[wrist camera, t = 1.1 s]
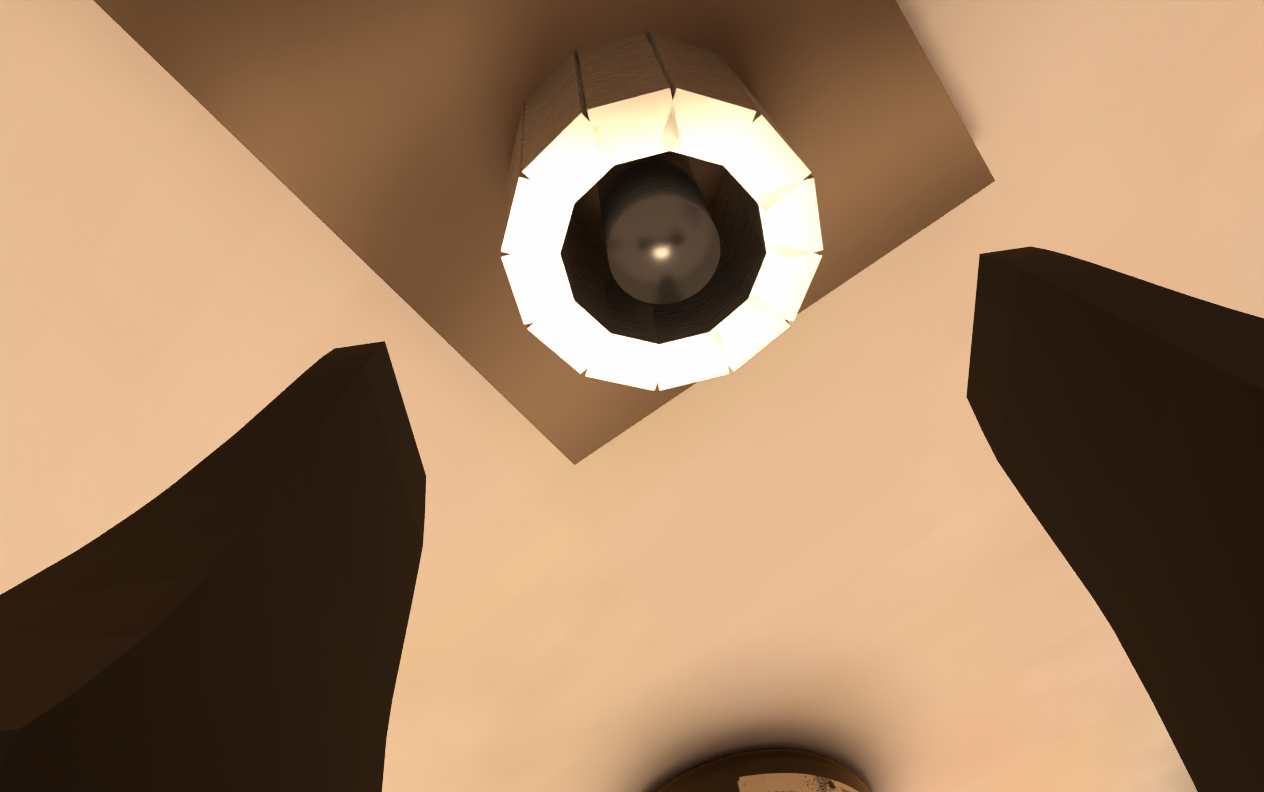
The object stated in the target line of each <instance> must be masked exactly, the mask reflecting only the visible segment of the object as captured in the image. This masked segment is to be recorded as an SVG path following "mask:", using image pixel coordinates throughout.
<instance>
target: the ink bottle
mask: <svg viewBox="0 0 1264 792" xmlns="http://www.w3.org/2000/svg"><path fill="white" fill-rule="evenodd" d="M656 792H871V791H870V789H869V788H868V787H867V785H866V784H865V783H864V782H863V781H862V780H861V779H860V778H859V777H858V776H857V775H856V774H854V773H853V772H852V771H850V770H849V769H847V768H846V767H844V766H842V765H841V764H839V763H837V762H835V761H833V760H831V759H828V758H826V757H823V756H820V755H817V754H813V753H809V752H805V751H799V750H790V749H766V750H756V751H750V752H744V753H739V754H735V755H731V756H727V757H724V758H720V759H717V760H714V761H711V762H709V763H706V764H703V765H701V766H698V767H696V768H694V769H692V770H690V771H688V772H686V773H684V774H682V775H680V776H678V777H676V778H675V779H673V780H671V781H670V782H668V783H667V784H665V785H664V786H662V787H661V788H660V789H658V790H657V791H656Z"/></svg>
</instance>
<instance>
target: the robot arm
mask: <svg viewBox="0 0 1264 792" xmlns="http://www.w3.org/2000/svg"><path fill="white" fill-rule="evenodd" d="M967 399H968V401H969V403H970V405H971V407H972V409H973V412H974V414H975V416H976V418H977V420H978V422H979V425H980V427H981V429H982V431H983V433H984V435H985V437H986V439H987V441H988V443H989V445H990V447H991V449H992V451H993V453H994V455H995V457H996V459H997V461H998V462H999V464H1000V465H1001V467H1002V468H1003V470H1004V471H1005V473H1006V474H1007V476H1008V477H1009V478H1010V480H1011V481H1012V483H1013V484H1014V486H1015V487H1016V489H1017V490H1018V492H1019V493H1020V494H1021V496H1022V497H1023V499H1024V500H1025V502H1026V503H1027V505H1028V506H1029V508H1030V509H1031V510H1032V512H1033V513H1034V515H1035V516H1036V517H1037V519H1038V520H1039V522H1040V523H1041V525H1042V526H1043V527H1044V529H1045V530H1046V532H1047V533H1048V534H1049V536H1050V537H1051V539H1052V540H1053V542H1054V543H1055V544H1056V546H1057V547H1058V549H1059V550H1060V552H1061V553H1062V554H1063V556H1064V557H1065V559H1066V560H1067V561H1068V563H1069V564H1070V566H1071V567H1072V569H1073V570H1074V571H1075V573H1076V574H1077V576H1078V577H1079V578H1080V580H1081V581H1082V583H1083V584H1084V586H1085V587H1086V588H1087V590H1088V591H1089V593H1090V594H1091V596H1092V597H1093V599H1094V600H1095V602H1096V603H1097V605H1098V606H1099V608H1100V610H1101V611H1102V613H1103V614H1104V616H1105V617H1106V619H1107V621H1108V622H1109V624H1110V625H1111V627H1112V628H1113V630H1114V632H1115V634H1116V635H1117V637H1118V639H1119V641H1120V643H1121V645H1122V647H1123V648H1124V650H1125V652H1126V654H1127V656H1128V658H1129V659H1130V661H1131V663H1132V665H1133V667H1134V669H1135V670H1136V672H1137V674H1138V676H1139V678H1140V680H1141V681H1142V683H1143V685H1144V687H1145V689H1146V691H1147V692H1148V694H1149V696H1150V698H1151V700H1152V702H1153V704H1154V706H1155V708H1156V710H1157V712H1158V714H1159V716H1160V717H1161V719H1162V721H1163V723H1164V725H1165V727H1166V729H1167V731H1168V733H1169V735H1170V737H1171V739H1172V741H1173V743H1174V745H1175V747H1176V749H1177V751H1178V753H1179V755H1180V757H1181V759H1182V761H1183V763H1184V765H1185V767H1186V769H1187V771H1188V773H1189V775H1190V777H1191V779H1192V781H1193V783H1194V785H1195V787H1196V789H1197V791H1198V792H1264V318H1260V317H1257V316H1253V315H1250V314H1246V313H1243V312H1239V311H1236V310H1232V309H1229V308H1226V307H1223V306H1220V305H1216V304H1213V303H1210V302H1207V301H1204V300H1201V299H1198V298H1194V297H1191V296H1188V295H1185V294H1182V293H1179V292H1176V291H1173V290H1170V289H1167V288H1164V287H1161V286H1158V285H1155V284H1152V283H1150V282H1147V281H1144V280H1141V279H1138V278H1135V277H1132V276H1129V275H1126V274H1123V273H1120V272H1117V271H1114V270H1111V269H1108V268H1105V267H1102V266H1100V265H1097V264H1093V263H1090V262H1087V261H1084V260H1081V259H1078V258H1075V257H1071V256H1068V255H1065V254H1061V253H1057V252H1054V251H1050V250H1046V249H1040V248H1035V247H1025V248H1018V249H1011V250H1004V251H997V252H990V253H984V254H980V258H979V268H978V279H977V290H976V301H975V312H974V323H973V333H972V344H971V355H970V366H969V377H968V388H967ZM425 493H426V475H425V471H424V468H423V465H422V462H421V458H420V455H419V452H418V448H417V445H416V442H415V439H414V435H413V432H412V429H411V426H410V422H409V419H408V416H407V413H406V409H405V406H404V403H403V399H402V396H401V393H400V390H399V386H398V383H397V380H396V377H395V373H394V370H393V367H392V363H391V360H390V357H389V354H388V350H387V347H386V344H385V341H383V342H377V343H370V344H363V345H356V346H349V347H343V348H336V349H333V350H332V351H330V352H329V353H327V354H326V355H325V356H323V357H322V358H321V359H319V360H318V361H317V362H316V363H315V364H313V365H312V366H311V367H310V368H309V369H308V370H306V371H305V372H304V373H303V374H302V375H301V376H300V377H299V378H297V379H296V380H295V381H294V382H293V383H292V384H291V385H290V386H288V387H287V388H286V389H285V390H284V391H283V392H282V393H281V394H280V395H278V396H277V397H276V398H275V399H274V400H273V401H272V402H271V403H269V404H268V405H267V406H266V407H265V408H264V409H263V410H262V411H261V412H259V413H258V414H257V415H256V416H255V417H254V418H253V419H252V420H250V421H249V422H248V423H247V424H246V425H245V426H244V427H243V428H241V429H240V430H239V431H238V432H237V433H236V434H235V435H233V436H232V437H231V438H230V439H229V440H227V441H226V442H225V443H224V444H222V445H221V446H220V447H219V448H217V449H216V450H215V451H214V452H212V453H211V454H210V455H209V456H208V457H206V458H205V459H204V460H203V461H201V462H200V463H199V464H198V465H196V466H195V467H194V468H193V469H192V470H190V471H189V472H188V473H187V474H185V475H184V476H183V477H182V478H180V479H179V480H178V481H177V482H176V483H174V484H173V485H172V486H170V487H169V488H168V489H166V490H165V491H164V492H162V493H161V494H160V495H158V496H157V497H156V498H154V499H153V500H152V501H150V502H149V503H147V504H146V505H145V506H143V507H142V508H140V509H139V510H138V511H136V512H135V513H133V514H132V515H130V516H129V517H127V518H126V519H124V520H123V521H121V522H120V523H118V524H117V525H115V526H114V527H113V528H111V529H110V530H108V531H107V532H105V533H104V534H102V535H101V536H99V537H98V538H96V539H95V540H93V541H92V542H90V543H88V544H87V545H85V546H84V547H82V548H80V549H79V550H77V551H76V552H74V553H72V554H71V555H69V556H67V557H65V558H64V559H62V560H60V561H58V562H57V563H55V564H53V565H51V566H50V567H48V568H46V569H45V570H43V571H41V572H39V573H38V574H36V575H34V576H32V577H31V578H29V579H27V580H25V581H24V582H22V583H20V584H19V585H17V586H15V587H13V588H12V589H10V590H8V591H6V592H5V593H3V594H1V595H0V792H382V782H383V771H384V759H385V747H386V737H387V730H388V724H389V717H390V710H391V704H392V698H393V693H394V688H395V683H396V679H397V674H398V669H399V664H400V659H401V654H402V649H403V644H404V639H405V634H406V629H407V624H408V619H409V614H410V609H411V604H412V599H413V594H414V589H415V584H416V579H417V574H418V568H419V563H420V558H421V552H422V547H423V534H424V518H425Z"/></svg>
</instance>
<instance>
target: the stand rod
mask: <svg viewBox="0 0 1264 792" xmlns="http://www.w3.org/2000/svg"><path fill="white" fill-rule="evenodd" d="M597 189H598V195H599V202H600V209H601V215H602V222H603V229H604V235H605V242H606V249H607V255H608V262H609V267H610V270H611V273H612V275H613V277H614V279H615V280H616V282H617V283H618V285H619V286H620V287H621V288H622V289H623V290H624V291H625V292H627V293H628V294H629V295H631V296H632V297H634V298H636V299H638V300H640V301H644V302H647V303H652V304H670V303H676V302H679V301H682V300H685V299H687V298H689V297H691V296H693V295H694V294H696V293H697V292H698V291H700V290H701V289H702V288H703V287H704V286H705V285H706V284H707V283H708V282H709V280H710V279H711V278H712V276H713V274H714V273H715V271H716V268H717V266H718V262H719V258H720V239H719V236H718V232H717V230H716V227H715V225H714V223H713V220H712V218H711V215H710V213H709V211H708V208H707V206H706V203H705V201H704V199H703V196H702V194H701V191H700V189H699V187H698V184H697V182H696V180H695V177H694V175H693V172H692V170H691V168H690V165H689V163H688V160H687V158H686V156H685V155H684V154H680V153H676V152H673V151H667V152H663V153H660V154H656V155H652V156H648V157H644V158H640V159H636V160H632V161H628V162H625V163H621V164H617V165H614V166H613V167H612V168H611V169H610V170H609V171H608V172H607V173H606V174H605V175H604V176H603V177H601V178H600V179H599V180H598V181H597Z"/></svg>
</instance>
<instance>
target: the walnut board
mask: <svg viewBox="0 0 1264 792" xmlns="http://www.w3.org/2000/svg"><path fill="white" fill-rule="evenodd" d="M94 1H95V2H96V3H97V4H98V5H99V6H100V7H101V8H102V9H103V10H104V11H105V12H106V13H107V14H108V15H109V16H110V17H111V18H112V19H113V20H114V21H116V22H117V23H118V24H119V25H120V26H121V27H122V28H123V29H124V30H125V31H126V32H127V33H128V34H129V35H130V36H131V37H132V38H133V39H134V40H135V41H136V42H137V43H138V44H139V45H140V46H141V47H142V48H143V49H144V50H146V51H147V52H148V53H149V54H150V55H151V56H152V57H153V58H154V59H155V60H156V61H157V62H158V63H159V64H160V65H161V66H162V67H163V68H164V69H165V70H166V71H167V72H168V73H169V74H170V75H171V76H172V77H173V78H175V79H176V80H177V81H178V82H179V83H180V84H181V85H182V86H183V87H184V88H185V89H186V90H187V91H188V92H189V93H190V94H191V95H192V96H193V97H194V98H195V99H196V100H197V101H198V102H199V103H200V104H201V105H202V106H204V107H205V108H206V109H207V110H208V111H209V112H210V113H211V114H212V115H213V116H214V117H215V118H216V119H217V120H218V121H219V122H220V123H221V124H222V125H223V126H224V127H225V128H226V129H227V130H228V131H229V132H230V133H231V134H232V135H234V136H235V137H236V138H237V139H238V140H239V141H240V142H241V143H242V144H243V145H244V146H245V147H246V148H247V149H248V150H249V151H250V152H251V153H252V154H253V155H254V156H255V157H256V158H257V159H258V160H259V161H260V162H261V163H263V164H264V165H265V166H266V167H267V168H268V169H269V170H270V171H271V172H272V173H273V174H274V175H275V176H276V177H277V178H278V179H279V180H280V181H281V182H282V183H283V184H284V185H285V186H286V187H287V188H288V189H289V190H290V191H292V192H293V193H294V194H295V195H296V196H297V197H298V198H299V199H300V200H301V201H302V202H303V203H304V204H305V205H306V206H307V207H308V208H309V209H310V210H311V211H312V212H313V213H314V214H315V215H316V216H317V217H318V218H319V219H320V220H322V221H323V222H324V223H325V224H326V225H327V226H328V227H329V228H330V229H331V230H332V231H333V232H334V233H335V234H336V235H337V236H338V237H339V238H340V239H341V240H342V241H343V242H344V243H345V244H346V245H347V246H348V247H349V248H351V249H352V250H353V251H354V252H355V253H356V254H357V255H358V256H359V257H360V258H361V259H362V260H363V261H364V262H365V263H366V264H367V265H368V266H369V267H370V268H371V269H372V270H373V271H374V272H375V273H376V274H377V275H378V276H380V277H381V278H382V279H383V280H384V281H385V282H386V283H387V284H388V285H389V286H390V287H391V288H392V289H393V290H394V291H395V292H396V293H397V294H398V295H399V296H400V297H401V298H402V299H403V300H404V301H405V302H406V303H407V304H408V305H410V306H411V307H412V308H413V309H414V310H415V311H416V312H417V313H418V314H419V315H420V316H421V317H422V318H423V319H424V320H425V321H426V322H427V323H428V324H429V325H430V326H431V327H432V328H433V329H434V330H435V331H436V332H437V333H439V334H440V335H441V336H442V337H443V338H444V339H445V340H446V341H447V342H448V343H449V344H450V345H451V346H452V347H453V348H454V349H455V350H456V351H457V352H458V353H459V354H460V355H461V356H462V357H463V358H464V359H465V360H466V361H468V362H469V363H470V364H471V365H472V366H473V367H474V368H475V369H476V370H477V371H478V372H479V373H480V374H481V375H482V376H483V377H484V378H485V379H486V380H487V381H488V382H489V383H490V384H491V385H492V386H493V387H494V388H495V389H497V390H498V391H499V392H500V393H501V394H502V395H503V396H504V397H505V398H506V399H507V400H508V401H509V402H510V403H511V404H512V405H513V406H514V407H515V408H516V409H517V410H518V411H519V412H520V413H521V414H522V415H523V416H524V417H525V418H527V419H528V420H529V421H530V422H531V423H532V424H533V425H534V426H535V427H536V428H537V429H538V430H539V431H540V432H541V433H542V434H543V435H544V436H545V437H546V438H547V439H548V440H549V441H550V442H551V443H552V444H553V445H554V446H556V447H557V448H558V449H559V450H560V451H561V452H562V453H563V454H564V455H565V456H566V457H567V458H568V459H569V460H570V461H571V462H572V463H573V464H574V465H575V464H577V463H578V462H580V461H581V460H583V459H584V458H586V457H587V456H588V455H590V454H591V453H593V452H594V451H596V450H597V449H599V448H600V447H602V446H603V445H605V444H606V443H608V442H609V441H611V440H612V439H614V438H615V437H617V436H618V435H620V434H621V433H622V432H624V431H625V430H627V429H628V428H630V427H631V426H633V425H634V424H636V423H637V422H639V421H640V420H642V419H643V418H645V417H646V416H648V415H649V414H651V413H652V412H654V411H655V410H657V409H658V408H659V407H661V406H662V405H664V404H665V403H667V402H668V401H670V400H671V399H673V398H674V397H676V396H677V395H679V394H680V393H682V392H683V391H685V390H686V389H688V388H689V387H691V386H692V385H693V384H695V383H696V382H693V383H689V384H685V385H681V386H677V387H673V388H669V389H664V390H659V386H658V382H657V385H656V387H655V390H654V391H653V390H648V389H644V388H639V387H634V386H630V385H625V384H620V383H615V382H611V381H606V380H601V379H597V378H592V377H587V376H585V370H584V371H583V372H582V373H581V374H580V373H579V372H578V371H577V370H576V369H574V368H573V367H572V366H571V365H570V364H568V363H567V362H566V361H565V360H564V359H562V358H561V357H560V356H559V355H558V354H557V353H555V352H554V351H553V350H552V349H551V348H549V347H548V346H547V345H546V344H545V343H543V342H542V341H541V340H540V339H539V338H538V337H536V336H535V335H534V334H533V333H532V332H530V331H529V330H528V329H527V324H524V322H523V319H522V316H521V313H520V311H519V308H518V305H517V302H516V299H515V296H514V293H513V290H512V287H511V284H510V281H509V278H508V275H507V272H506V269H505V266H504V263H503V261H502V258H501V255H502V251H501V246H502V235H503V224H504V212H505V201H506V190H507V178H508V167H509V163H510V159H511V155H512V150H513V146H514V142H515V138H516V134H517V129H518V125H519V121H520V117H521V112H522V108H523V105H526V100H527V98H528V97H529V96H530V95H531V94H532V93H533V92H534V91H535V90H536V89H537V88H538V87H539V86H540V85H541V84H542V83H543V82H544V81H545V80H546V79H547V78H548V77H549V76H550V75H551V74H552V73H553V72H554V71H555V70H556V69H557V68H558V67H559V66H560V65H561V63H562V62H563V61H564V60H565V59H566V58H567V57H568V56H569V55H570V54H571V53H572V52H574V53H575V54H576V55H577V56H578V58H579V55H578V49H579V48H583V47H587V46H591V45H595V44H598V43H602V42H606V41H610V40H613V39H617V38H621V37H625V36H628V35H632V34H636V33H640V32H644V33H645V35H646V37H647V38H648V34H649V32H653V33H656V34H659V35H663V36H666V37H669V38H672V39H676V40H679V41H682V42H686V43H689V44H692V45H695V46H699V47H702V48H705V49H709V50H712V51H714V53H715V54H716V55H717V54H718V55H719V56H720V57H721V58H722V59H723V61H724V62H725V63H726V64H727V65H728V66H729V68H730V69H731V70H732V71H733V72H734V73H735V75H736V76H737V77H738V78H739V79H740V80H741V82H742V83H743V84H744V85H745V86H746V87H747V89H748V90H749V91H750V92H751V93H752V94H753V96H754V97H755V98H756V99H757V100H758V101H759V103H760V104H761V105H762V107H763V108H764V109H765V111H766V112H767V113H768V115H769V116H770V117H771V119H772V120H773V121H774V123H775V124H776V125H777V127H778V128H779V129H780V131H781V132H782V133H783V135H784V136H785V138H786V139H787V140H788V142H789V143H790V144H791V146H792V147H793V148H794V150H795V151H796V152H797V154H798V155H799V156H800V158H801V159H802V160H803V162H804V163H805V164H806V166H807V167H808V168H809V170H810V171H811V175H812V176H813V177H814V183H815V191H816V198H817V206H818V214H819V222H820V229H821V237H822V245H823V250H821V251H820V253H821V254H822V257H821V260H820V262H819V264H818V267H817V269H816V271H815V274H814V276H813V278H812V280H811V283H810V285H809V287H808V290H807V292H806V294H805V297H804V299H803V301H802V303H801V306H800V308H799V310H798V313H797V314H799V313H800V312H801V311H803V310H804V309H806V308H807V307H809V306H810V305H812V304H813V303H815V302H816V301H818V300H819V299H821V298H822V297H824V296H825V295H827V294H828V293H830V292H831V291H833V290H834V289H836V288H837V287H838V286H840V285H841V284H843V283H844V282H846V281H847V280H849V279H850V278H852V277H853V276H855V275H856V274H858V273H859V272H861V271H862V270H864V269H865V268H867V267H868V266H870V265H871V264H873V263H874V262H875V261H877V260H878V259H880V258H881V257H883V256H884V255H886V254H887V253H889V252H890V251H892V250H893V249H895V248H896V247H898V246H899V245H901V244H902V243H904V242H905V241H907V240H908V239H909V238H911V237H912V236H914V235H915V234H917V233H918V232H920V231H921V230H923V229H924V228H926V227H927V226H929V225H930V224H932V223H933V222H935V221H936V220H938V219H939V218H941V217H942V216H944V215H945V214H946V213H948V212H949V211H951V210H952V209H954V208H955V207H957V206H958V205H960V204H961V203H963V202H964V201H966V200H967V199H969V198H970V197H972V196H973V195H975V194H976V193H978V192H979V191H980V190H982V189H983V188H985V187H986V186H988V185H989V184H991V183H992V182H994V181H995V180H994V178H993V176H992V174H991V173H990V171H989V169H988V167H987V165H986V164H985V162H984V160H983V158H982V156H981V155H980V153H979V151H978V149H977V147H976V146H975V144H974V142H973V140H972V138H971V137H970V135H969V133H968V131H967V129H966V127H965V126H964V124H963V122H962V120H961V118H960V117H959V115H958V113H957V111H956V109H955V108H954V106H953V104H952V102H951V100H950V99H949V97H948V95H947V93H946V91H945V90H944V88H943V86H942V84H941V82H940V80H939V79H938V77H937V75H936V73H935V71H934V70H933V68H932V66H931V64H930V62H929V61H928V59H927V57H926V55H925V53H924V52H923V50H922V48H921V46H920V44H919V43H918V41H917V39H916V37H915V35H914V33H913V32H912V30H911V28H910V26H909V24H908V23H907V21H906V19H905V17H904V15H903V14H902V12H901V10H900V8H899V6H898V5H897V3H896V1H895V0H94ZM685 156H686V158H687V160H688V163H689V165H690V168H691V170H692V172H693V175H694V177H695V180H696V182H697V184H698V187H699V189H700V191H701V194H702V196H703V199H704V201H705V203H706V206H707V208H708V211H709V212H710V211H711V208H712V206H713V203H714V200H715V197H716V194H717V192H718V189H719V186H720V183H721V181H722V178H723V175H724V172H725V168H724V166H723V165H720V164H716V163H713V162H709V161H705V160H702V159H698V158H694V157H691V156H687V155H685ZM571 214H572V215H573V216H574V217H575V218H576V219H577V220H578V221H579V222H580V223H581V224H582V225H584V226H585V227H586V228H587V229H588V230H589V231H590V232H591V233H592V234H593V235H594V236H595V237H596V238H597V239H599V240H603V241H605V235H604V229H603V222H602V215H601V209H600V202H599V195H598V189H597V182H596V183H595V184H594V185H593V186H592V187H591V188H590V189H589V190H588V191H587V192H586V193H585V194H584V195H583V196H582V197H581V198H579V199H578V200H577V201H576V202H575V203H574V206H573V209H572V213H571ZM697 382H698V381H697Z"/></svg>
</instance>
